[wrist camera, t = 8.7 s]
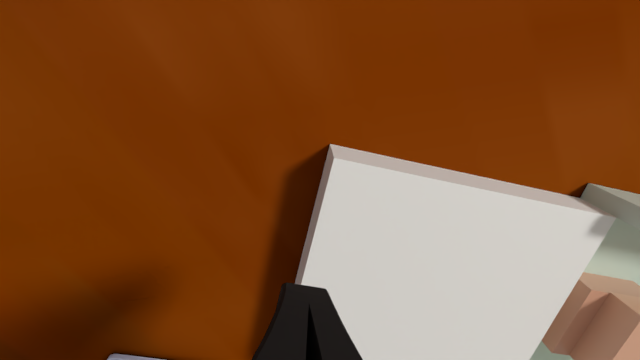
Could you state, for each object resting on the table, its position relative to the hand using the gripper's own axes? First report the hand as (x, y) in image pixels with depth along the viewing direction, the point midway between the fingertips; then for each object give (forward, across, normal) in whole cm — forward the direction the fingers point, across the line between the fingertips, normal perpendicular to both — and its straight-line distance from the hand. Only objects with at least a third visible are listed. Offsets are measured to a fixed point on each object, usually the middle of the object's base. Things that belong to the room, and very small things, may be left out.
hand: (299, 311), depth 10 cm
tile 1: (+9, -20, +4) cm, 22 cm away
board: (+9, -9, +4) cm, 13 cm away
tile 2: (+7, -21, +4) cm, 23 cm away
